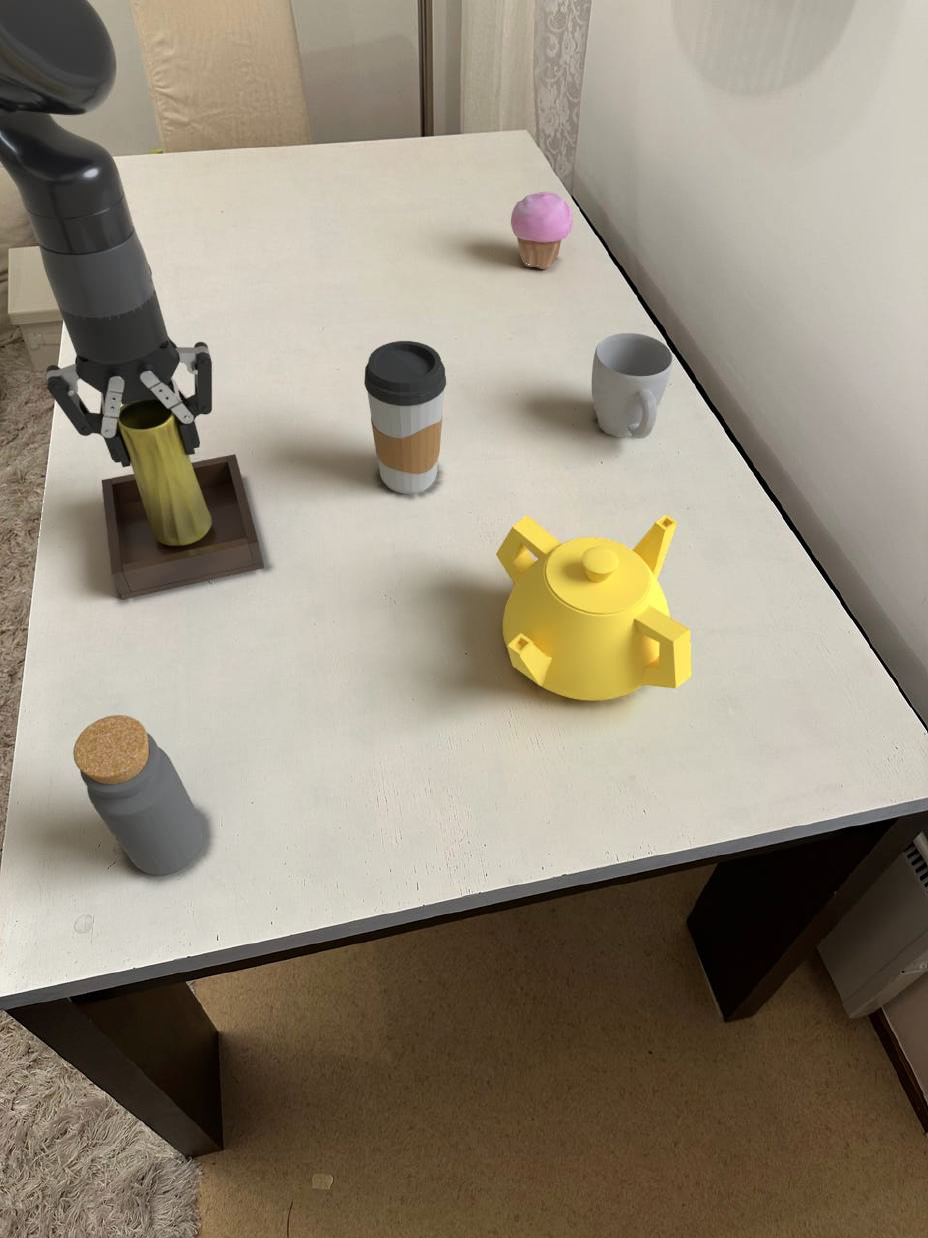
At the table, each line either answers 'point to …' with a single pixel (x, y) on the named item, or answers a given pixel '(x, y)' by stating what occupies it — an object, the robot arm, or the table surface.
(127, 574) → the tray
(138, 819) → the bottle
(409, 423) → the coffee cup
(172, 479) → the vase
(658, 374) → the mug
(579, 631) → the teapot
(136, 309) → the robot arm
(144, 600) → the table surface
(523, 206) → the cupcake
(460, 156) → the table surface
